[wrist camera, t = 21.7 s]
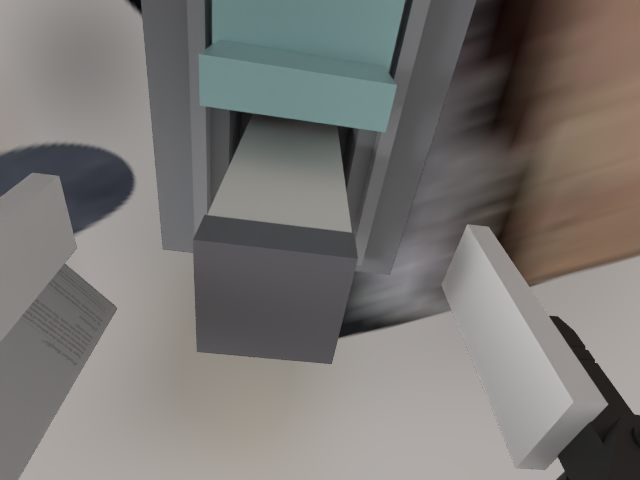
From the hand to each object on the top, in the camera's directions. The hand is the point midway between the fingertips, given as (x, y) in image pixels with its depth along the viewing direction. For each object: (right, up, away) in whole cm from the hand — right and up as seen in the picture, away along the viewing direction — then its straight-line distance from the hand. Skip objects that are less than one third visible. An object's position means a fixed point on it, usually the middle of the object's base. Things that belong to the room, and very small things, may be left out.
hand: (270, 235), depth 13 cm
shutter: (+1, +9, +1) cm, 9 cm away
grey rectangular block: (0, +5, +8) cm, 9 cm away
